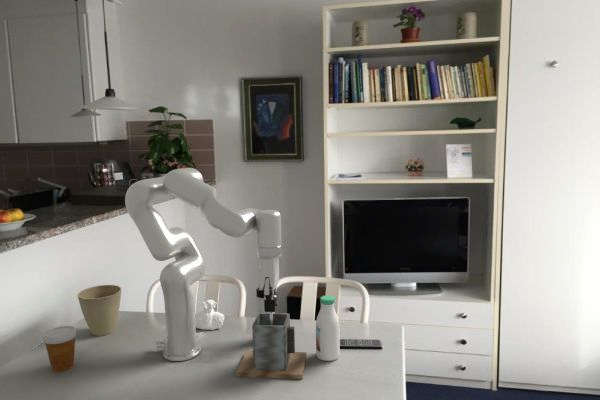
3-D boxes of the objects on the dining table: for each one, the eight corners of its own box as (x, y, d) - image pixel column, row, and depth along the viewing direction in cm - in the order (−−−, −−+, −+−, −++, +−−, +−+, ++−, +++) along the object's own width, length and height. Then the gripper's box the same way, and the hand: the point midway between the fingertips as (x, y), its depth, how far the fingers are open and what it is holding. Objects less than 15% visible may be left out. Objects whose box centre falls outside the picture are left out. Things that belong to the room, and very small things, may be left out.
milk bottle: (343, 352, 151) (342, 295, 148) (334, 363, 144) (334, 303, 141) (321, 348, 154) (320, 292, 151) (312, 359, 147) (311, 299, 145)
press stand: (236, 376, 137) (234, 328, 135) (246, 354, 151) (244, 310, 149) (302, 379, 135) (301, 329, 133) (306, 356, 149) (305, 311, 147)
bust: (225, 332, 174) (228, 303, 179) (221, 327, 167) (224, 297, 173) (194, 332, 175) (198, 303, 180) (189, 327, 168) (193, 297, 174)
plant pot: (72, 335, 168) (68, 294, 166) (106, 321, 181) (103, 282, 179) (99, 344, 161) (95, 301, 159) (132, 328, 174) (129, 288, 172)
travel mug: (273, 345, 158) (272, 289, 155) (255, 343, 159) (253, 288, 156) (278, 337, 164) (276, 283, 161) (260, 335, 165) (258, 282, 162)
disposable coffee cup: (45, 377, 139) (41, 340, 137) (46, 364, 147) (42, 329, 146) (80, 369, 143) (76, 333, 142) (79, 357, 152) (75, 323, 150)
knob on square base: (257, 352, 139) (255, 299, 136) (262, 341, 147) (260, 290, 144) (283, 353, 138) (281, 299, 135) (286, 341, 146) (285, 290, 143)
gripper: (262, 244, 147) (264, 298, 149) (251, 258, 130) (253, 319, 133) (285, 244, 146) (286, 299, 148) (277, 258, 129) (279, 319, 132)
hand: (271, 308), depth 140 cm, fingers closed on knob on square base, 4 cm apart
